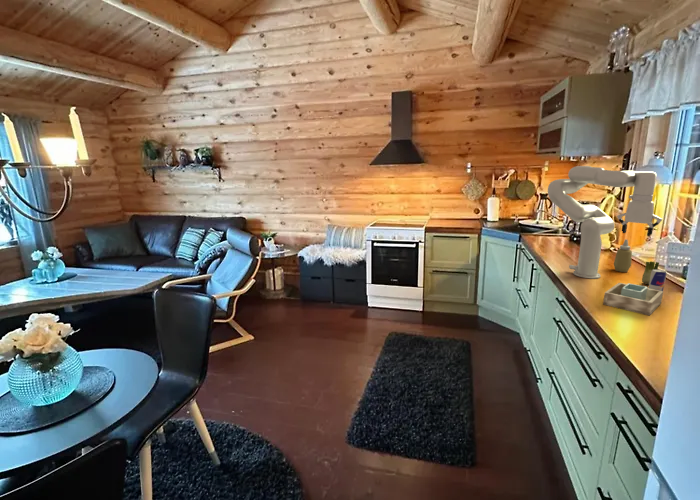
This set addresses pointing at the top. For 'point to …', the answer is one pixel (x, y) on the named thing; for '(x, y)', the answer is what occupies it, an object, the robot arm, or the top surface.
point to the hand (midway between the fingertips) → (636, 234)
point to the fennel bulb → (649, 271)
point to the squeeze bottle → (623, 258)
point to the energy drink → (657, 279)
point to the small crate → (634, 291)
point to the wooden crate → (633, 300)
